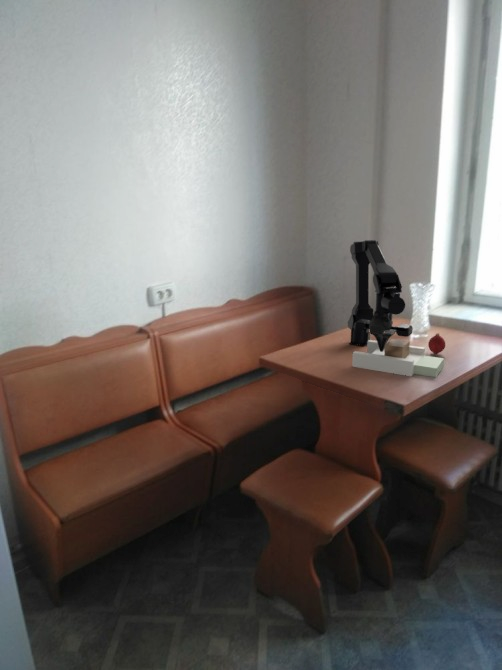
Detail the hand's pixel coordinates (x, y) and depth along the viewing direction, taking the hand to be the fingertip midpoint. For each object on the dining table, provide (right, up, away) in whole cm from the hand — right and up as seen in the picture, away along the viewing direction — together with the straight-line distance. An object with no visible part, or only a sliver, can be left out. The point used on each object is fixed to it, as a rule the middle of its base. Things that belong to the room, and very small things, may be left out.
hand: (381, 351), depth 173 cm
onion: (+22, -1, +9) cm, 24 cm away
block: (+4, -2, -2) cm, 5 cm away
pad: (+14, -6, -7) cm, 17 cm away
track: (+2, -4, 0) cm, 5 cm away
